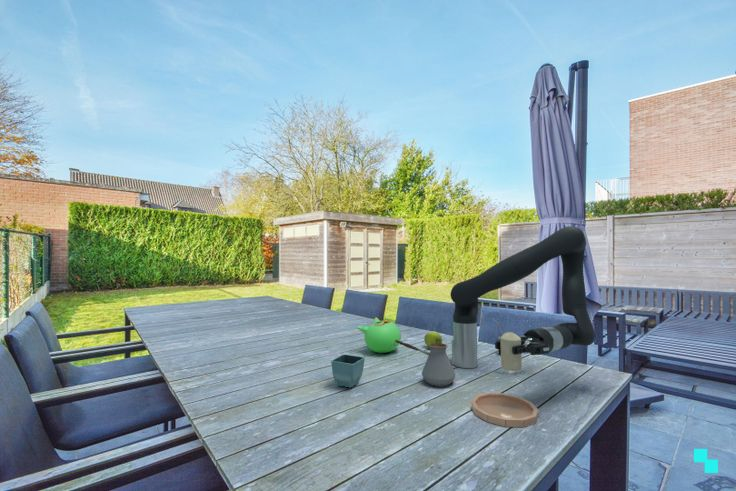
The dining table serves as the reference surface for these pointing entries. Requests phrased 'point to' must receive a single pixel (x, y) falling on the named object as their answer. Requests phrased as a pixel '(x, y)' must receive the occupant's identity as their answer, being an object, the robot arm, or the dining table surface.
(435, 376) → the coffee pot
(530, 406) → the saucer
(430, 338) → the apple
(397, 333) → the green teapot
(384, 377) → the dining table surface
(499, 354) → the mate gourd
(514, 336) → the candle
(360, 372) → the flower pot
